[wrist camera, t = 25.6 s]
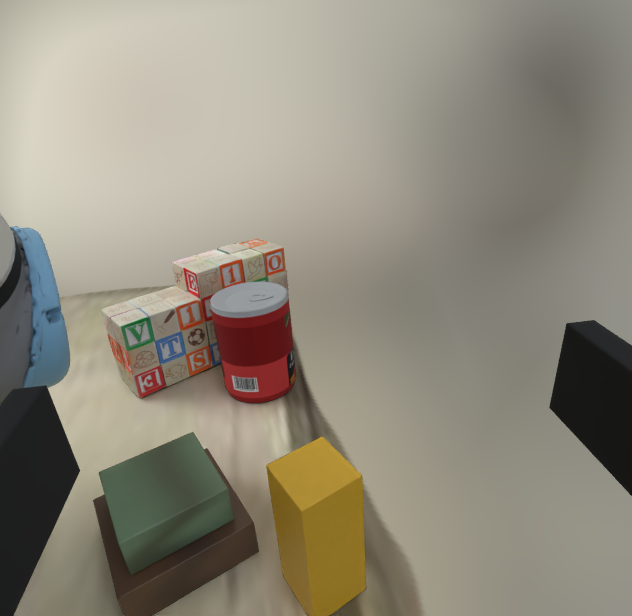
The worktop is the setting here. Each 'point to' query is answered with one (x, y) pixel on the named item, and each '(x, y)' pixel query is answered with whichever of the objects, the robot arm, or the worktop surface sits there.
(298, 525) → the bar
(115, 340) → the stack of blocks
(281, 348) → the canned food
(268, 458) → the worktop surface
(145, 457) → the green brown stepped block
